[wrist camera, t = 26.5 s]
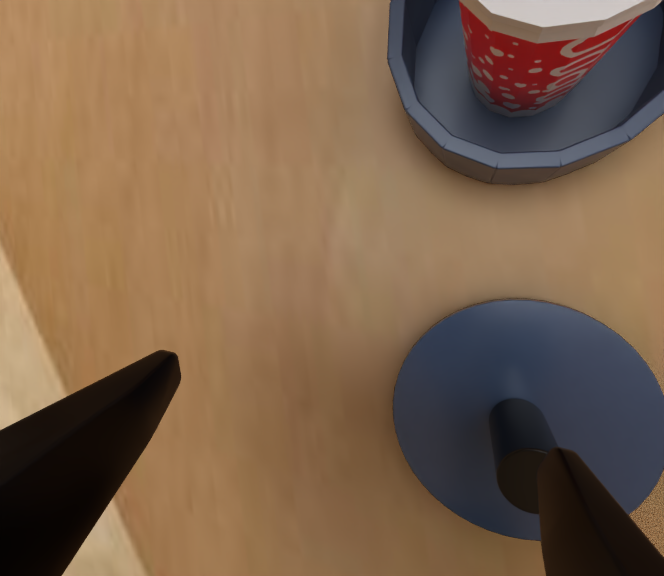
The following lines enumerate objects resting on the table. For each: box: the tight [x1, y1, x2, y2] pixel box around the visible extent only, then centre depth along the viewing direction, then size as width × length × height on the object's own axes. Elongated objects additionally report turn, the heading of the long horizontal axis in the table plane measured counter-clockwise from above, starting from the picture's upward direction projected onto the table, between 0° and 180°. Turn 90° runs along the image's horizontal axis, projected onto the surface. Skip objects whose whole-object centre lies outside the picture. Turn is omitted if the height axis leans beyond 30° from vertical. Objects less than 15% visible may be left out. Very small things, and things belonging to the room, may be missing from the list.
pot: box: [387, 0, 664, 185], centre depth 15 cm, size 11×11×4 cm
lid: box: [393, 298, 664, 541], centre depth 16 cm, size 11×11×6 cm
